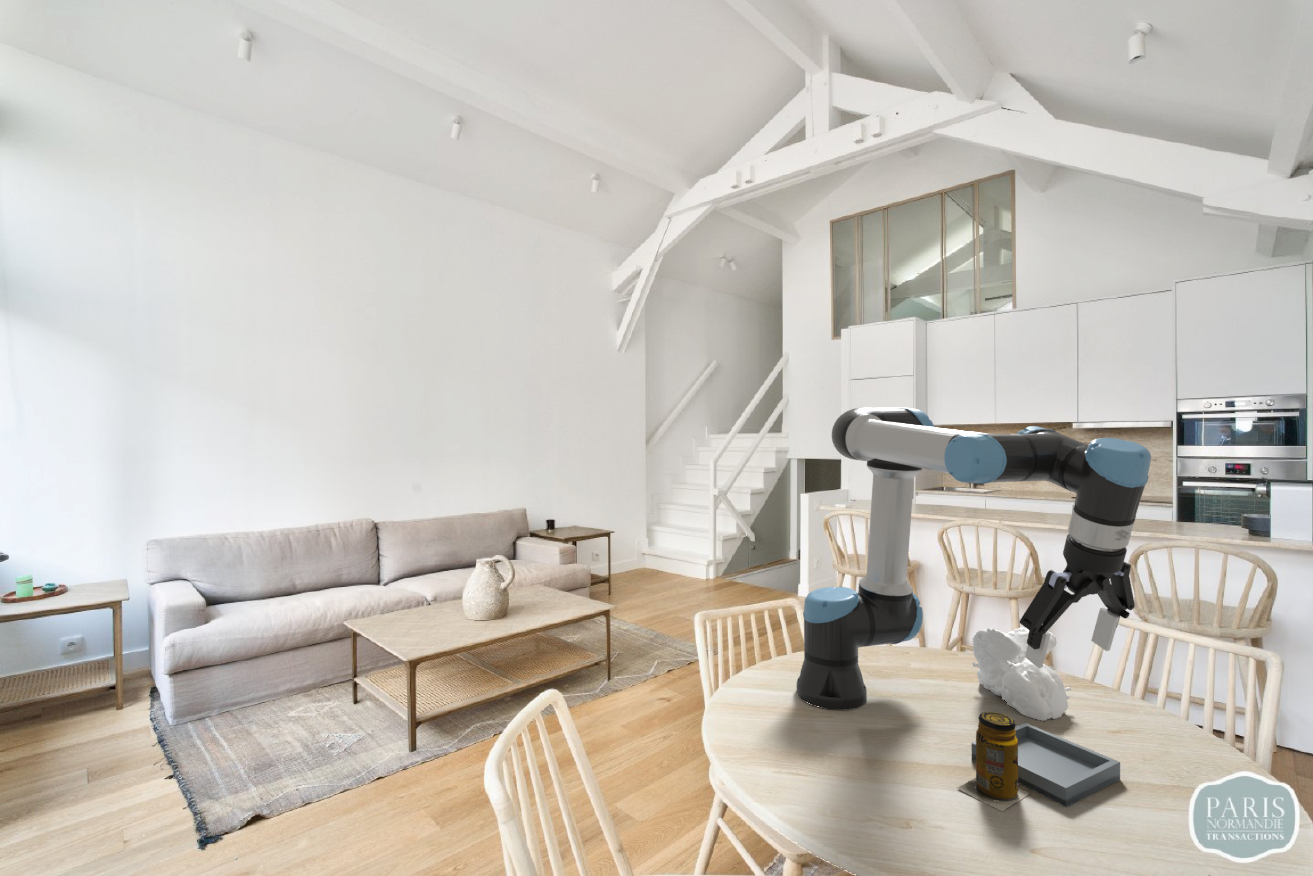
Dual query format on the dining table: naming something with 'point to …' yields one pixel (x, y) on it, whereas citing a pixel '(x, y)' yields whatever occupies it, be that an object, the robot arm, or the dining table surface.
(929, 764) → the dining table surface
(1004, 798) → the condiment
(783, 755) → the dining table surface
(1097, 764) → the tray
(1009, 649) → the white lumpy sculpture
